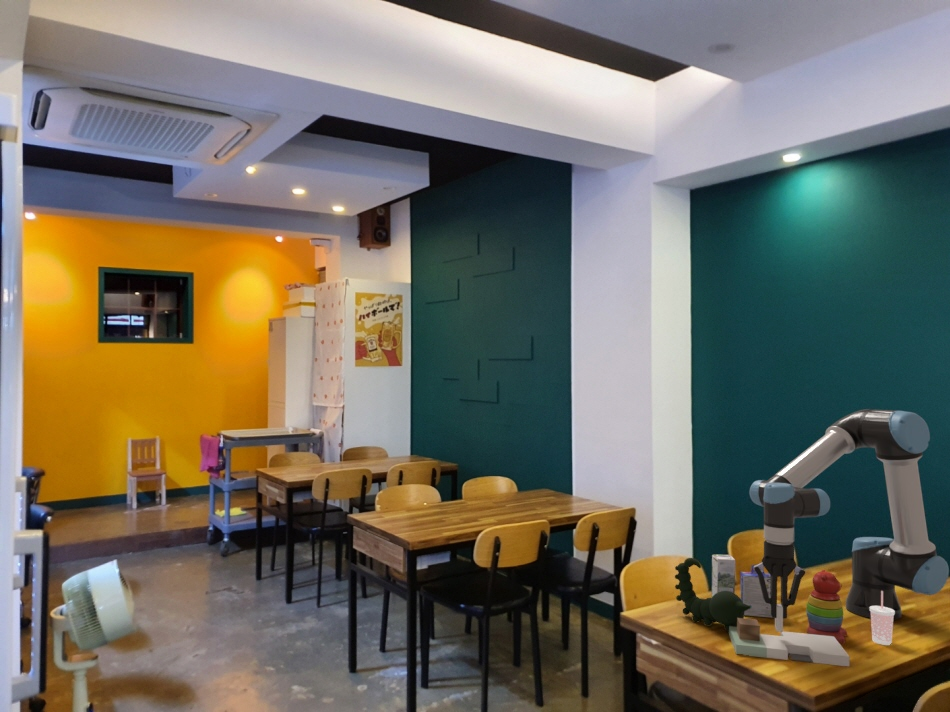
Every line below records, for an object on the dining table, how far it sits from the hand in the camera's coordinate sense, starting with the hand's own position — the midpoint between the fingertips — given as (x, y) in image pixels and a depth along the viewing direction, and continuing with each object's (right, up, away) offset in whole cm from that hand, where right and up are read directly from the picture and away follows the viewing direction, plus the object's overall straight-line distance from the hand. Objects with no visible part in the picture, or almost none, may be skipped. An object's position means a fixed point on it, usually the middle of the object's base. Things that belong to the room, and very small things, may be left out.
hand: (778, 629), depth 185 cm
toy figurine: (-12, -6, +17) cm, 22 cm away
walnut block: (-8, -2, +1) cm, 8 cm away
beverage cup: (+32, -6, +7) cm, 33 cm away
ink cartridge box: (+5, -6, +27) cm, 28 cm away
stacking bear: (+18, -6, +11) cm, 22 cm away
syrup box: (-1, -6, +39) cm, 39 cm away
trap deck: (+2, -5, -1) cm, 5 cm away
